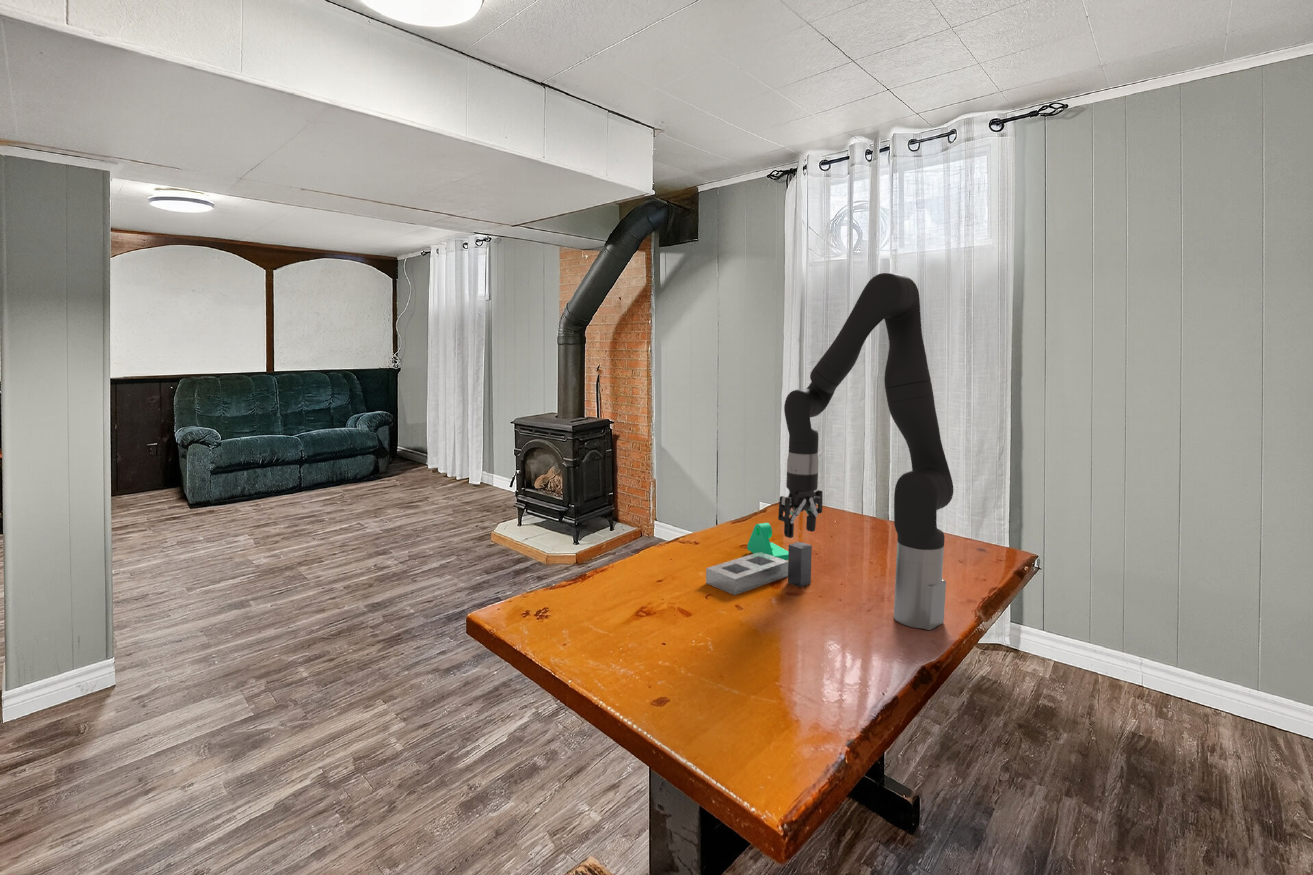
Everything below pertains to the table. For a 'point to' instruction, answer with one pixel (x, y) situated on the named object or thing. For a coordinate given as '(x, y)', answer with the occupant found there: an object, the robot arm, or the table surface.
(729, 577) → the rail
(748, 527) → the table surface
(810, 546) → the peg
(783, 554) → the camera mount
